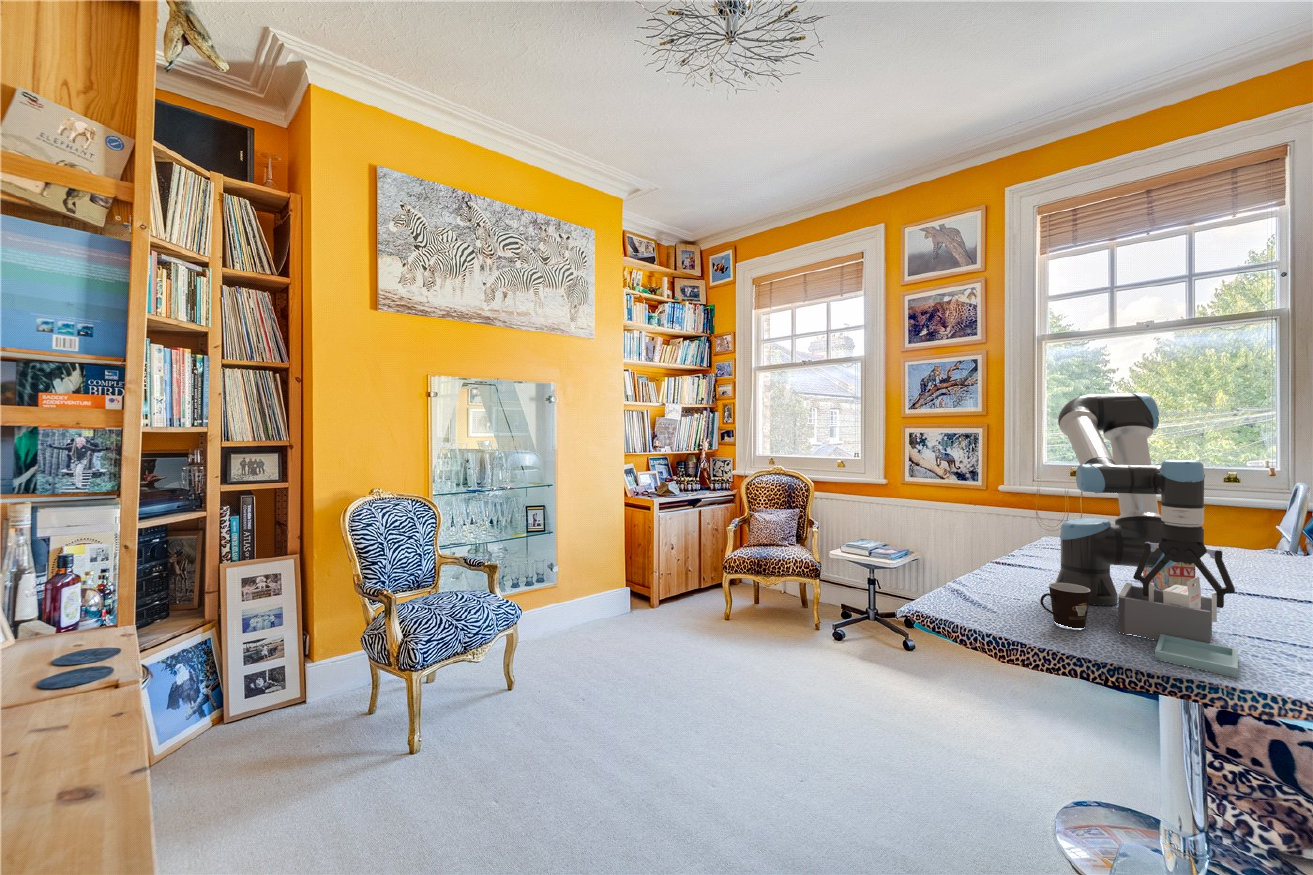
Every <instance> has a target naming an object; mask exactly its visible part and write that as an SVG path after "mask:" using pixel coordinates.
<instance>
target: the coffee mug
mask: <svg viewBox="0 0 1313 875" xmlns="http://www.w3.org/2000/svg"><path fill="white" fill-rule="evenodd" d="M1048 588H1049V589H1048V590H1049V592H1048V593H1044V594H1042V596H1040V601H1039V602H1040V606H1041V607H1042V608H1043V609H1044V610H1045V611H1047V612H1048V613H1049V614H1051V615H1052V617H1053V622H1054V621H1055V622H1056V623H1058V624H1061V625H1064V626H1068V627H1072V628H1084V627H1085V628H1086V625H1087V618H1088V612H1089V611H1088V610H1089V606H1090V605H1089V598H1090V591H1091V590H1090V589H1089V588H1087V587H1084V586H1080V585H1075V584H1069V583H1055V582H1052V583H1049V584H1048ZM1048 596H1049V597H1050V602H1051V610H1050V609H1049V608H1047V607H1046V605H1045V604H1044V599H1045V598H1046V597H1048Z"/></svg>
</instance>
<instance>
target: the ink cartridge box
mask: <svg viewBox="0 0 1313 875" xmlns="http://www.w3.org/2000/svg"><path fill="white" fill-rule="evenodd" d="M1200 581H1201V580H1200V577H1199V576H1195V578H1194V579H1191V580H1190V581H1187V586H1181V585H1174V586H1171V587H1169V588H1167V589H1165V590H1163V603H1164V604H1170V605H1177V606H1183V607H1189V608H1195V609H1201V596H1202V594H1201V593H1202V588H1201V582H1200ZM1193 583H1195V586H1194V587H1192V584H1193Z"/></svg>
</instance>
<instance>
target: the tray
mask: <svg viewBox="0 0 1313 875" xmlns="http://www.w3.org/2000/svg"><path fill="white" fill-rule="evenodd" d="M1238 652H1239V650H1238V648H1235V647H1230V646H1225V645H1220V644H1215V643H1211V642H1210V643H1205V642H1200V641H1194V640H1189V639H1184V638H1179V637H1174V636H1168V635H1163V634H1161V635H1160V638H1159V640H1158V641H1157V644H1156V647H1155V650H1154V660H1155V659H1156V660H1155V661H1157V660H1160V661H1159V662H1162V661H1164V663H1166V662H1169V663H1168V664H1171V663H1173V664H1172V665H1176V664H1178V665H1177V666H1180V665H1185V666H1189V667H1193V668H1192V669H1194V668H1198V669H1197V670H1199V669H1203V670H1207V671H1206V672H1208V671H1211V672H1210V673H1212V672H1215V673H1214V674H1217V673H1218V675H1222V676H1228V677H1230V678H1231V677H1232V678H1235V679H1237V678H1239V675H1238V673H1239V671H1238V670H1239V661H1238V659H1239V658H1238V656H1239V655H1238V654H1239V653H1238ZM1185 666H1184V667H1185ZM1189 667H1188V668H1189ZM1203 670H1202V671H1203Z"/></svg>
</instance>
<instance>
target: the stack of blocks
mask: <svg viewBox="0 0 1313 875" xmlns="http://www.w3.org/2000/svg"><path fill="white" fill-rule="evenodd" d="M1152 569H1153V568H1152ZM1152 569H1151V568H1147V567H1145V568H1144V570H1143V572H1142V576H1144V577H1146V575H1147V574H1148V573H1149V572H1150V571H1151V570H1152ZM1194 578H1196V566H1195V564H1194V563H1192V564H1186V563H1183V562H1176V563H1175V564H1174V565H1173V566H1172V567H1170V568H1162V569H1161V570H1160V571H1159V573H1158V574H1157V575H1156V576H1155V577H1154V578H1153V579H1152V580H1151V581H1150V583H1154V587H1156V588H1157V589H1158V590H1160V589H1161V590H1165V589H1167V588H1169V587H1171V586H1174V585H1181V586H1187V581H1190V580H1191V579H1194ZM1194 586H1195V583H1193V584H1192V587H1194Z"/></svg>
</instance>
